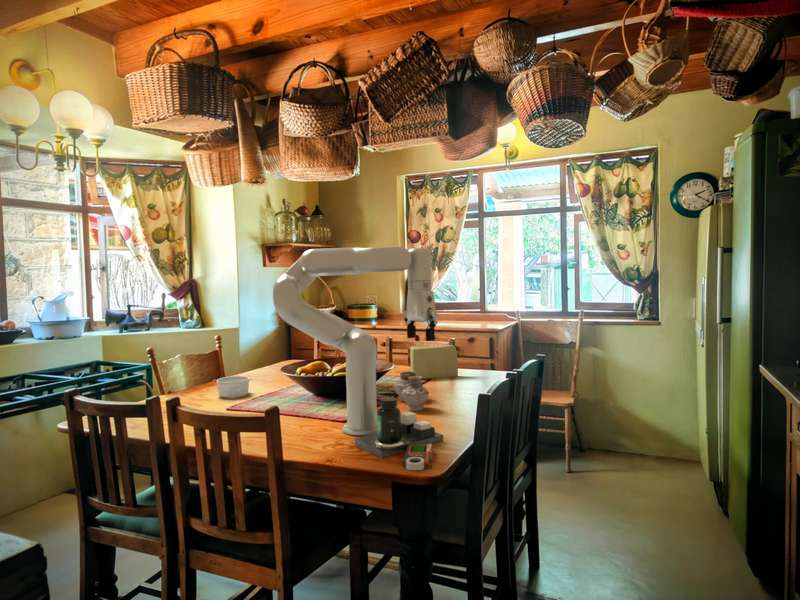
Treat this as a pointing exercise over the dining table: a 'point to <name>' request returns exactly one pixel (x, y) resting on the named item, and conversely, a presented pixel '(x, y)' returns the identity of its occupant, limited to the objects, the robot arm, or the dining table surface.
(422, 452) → the electronic device
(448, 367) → the cheese
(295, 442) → the dining table surface
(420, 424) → the white cube
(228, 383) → the ramekin
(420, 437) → the breaker board
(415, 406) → the pottery
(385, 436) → the supplement bottle
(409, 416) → the block
